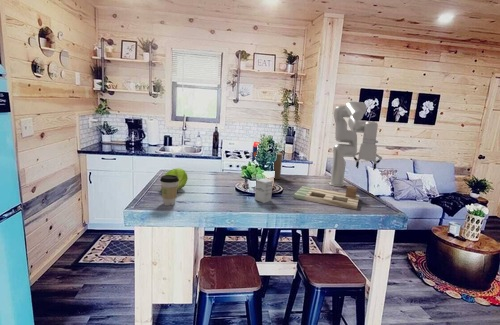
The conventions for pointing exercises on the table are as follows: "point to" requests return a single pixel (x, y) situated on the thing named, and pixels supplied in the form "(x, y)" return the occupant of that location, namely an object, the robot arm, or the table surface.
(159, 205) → the table surface
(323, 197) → the board
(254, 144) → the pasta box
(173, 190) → the coffee cup
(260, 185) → the supplement box
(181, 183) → the lettuce
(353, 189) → the walnut cube
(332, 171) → the robot arm
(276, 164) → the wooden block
